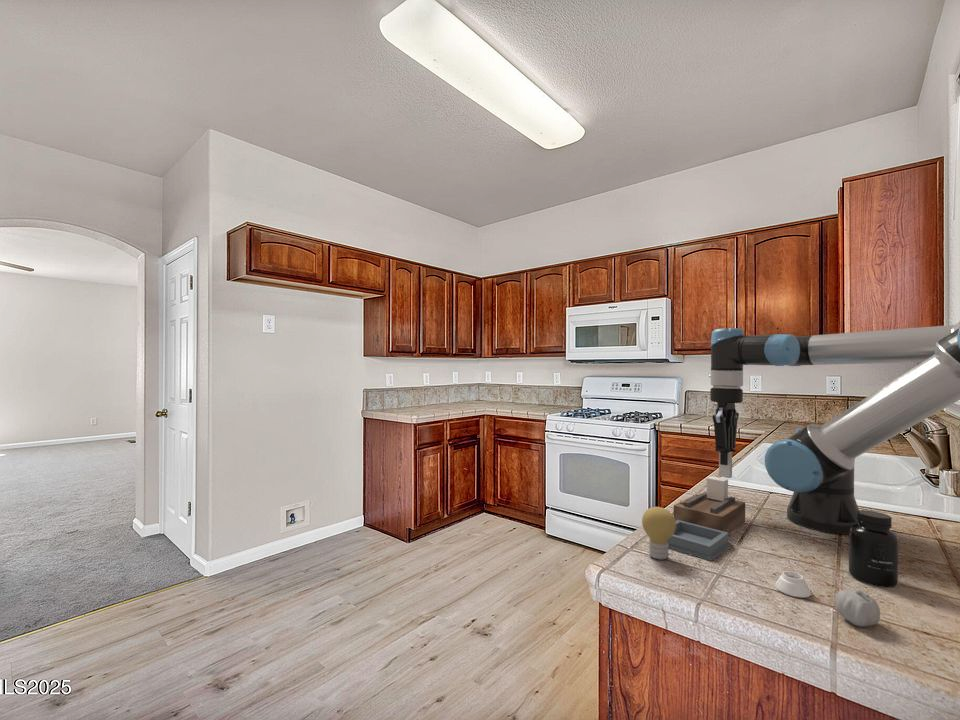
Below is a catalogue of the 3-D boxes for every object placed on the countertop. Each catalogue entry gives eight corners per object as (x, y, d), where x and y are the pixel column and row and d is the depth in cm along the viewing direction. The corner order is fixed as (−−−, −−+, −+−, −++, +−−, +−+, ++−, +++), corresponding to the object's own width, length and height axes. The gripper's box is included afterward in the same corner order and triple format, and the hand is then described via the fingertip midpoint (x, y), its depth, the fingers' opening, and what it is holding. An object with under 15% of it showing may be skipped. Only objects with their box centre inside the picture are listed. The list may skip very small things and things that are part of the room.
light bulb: (679, 565, 87) (679, 513, 87) (644, 562, 88) (644, 511, 89) (671, 552, 93) (672, 504, 94) (639, 549, 95) (639, 501, 95)
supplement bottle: (881, 591, 78) (881, 521, 78) (839, 573, 85) (839, 509, 85) (908, 585, 80) (908, 518, 80) (865, 569, 87) (866, 506, 87)
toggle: (727, 499, 113) (728, 479, 113) (723, 501, 111) (723, 481, 111) (711, 495, 116) (711, 476, 116) (706, 497, 114) (706, 478, 114)
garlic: (890, 637, 65) (890, 600, 65) (845, 629, 66) (845, 594, 67) (868, 615, 71) (868, 581, 71) (827, 609, 72) (827, 576, 72)
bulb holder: (731, 544, 98) (731, 532, 98) (711, 561, 89) (711, 548, 89) (676, 529, 106) (676, 518, 106) (652, 543, 98) (653, 531, 98)
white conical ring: (814, 602, 74) (805, 588, 79) (814, 584, 74) (805, 571, 79) (779, 596, 76) (772, 583, 81) (779, 578, 76) (772, 566, 81)
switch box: (745, 522, 112) (745, 498, 112) (722, 539, 101) (722, 512, 101) (699, 511, 120) (699, 489, 120) (673, 526, 109) (673, 501, 109)
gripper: (719, 385, 126) (718, 470, 126) (702, 387, 117) (700, 478, 117) (750, 387, 120) (749, 475, 120) (733, 388, 111) (732, 484, 111)
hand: (725, 476), depth 118 cm, fingers closed
